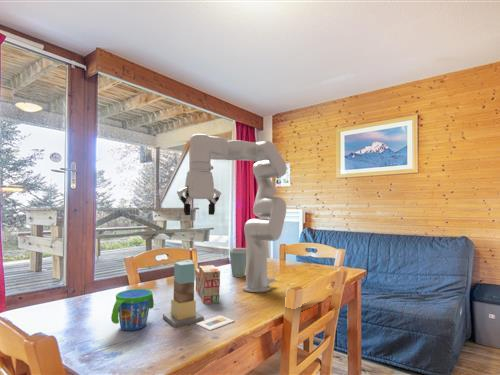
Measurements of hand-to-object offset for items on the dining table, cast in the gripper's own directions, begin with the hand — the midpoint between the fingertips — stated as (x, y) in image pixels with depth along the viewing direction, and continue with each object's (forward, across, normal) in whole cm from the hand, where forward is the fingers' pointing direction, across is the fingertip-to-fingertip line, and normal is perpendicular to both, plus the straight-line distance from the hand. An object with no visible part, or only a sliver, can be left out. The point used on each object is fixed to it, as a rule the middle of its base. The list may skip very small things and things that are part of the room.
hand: (199, 214), depth 110 cm
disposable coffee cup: (+35, -42, -36) cm, 65 cm away
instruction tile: (+34, +1, +14) cm, 37 cm away
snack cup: (+34, +23, +2) cm, 41 cm away
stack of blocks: (+34, -11, -14) cm, 39 cm away
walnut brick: (+28, +8, +5) cm, 29 cm away
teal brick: (+22, +8, +5) cm, 24 cm away
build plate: (+34, +8, +5) cm, 35 cm away
